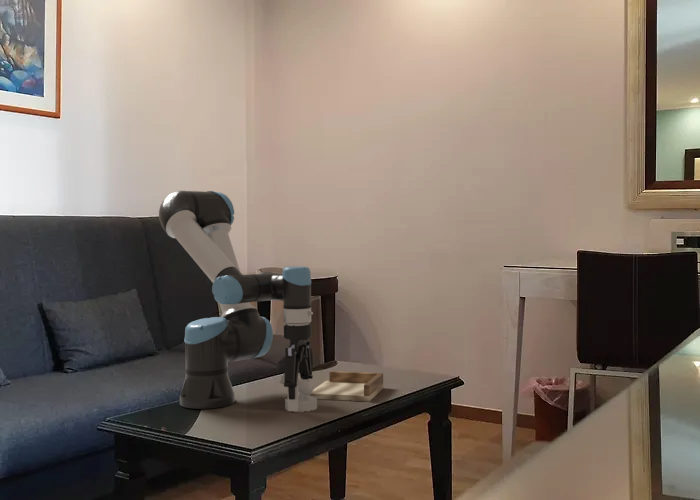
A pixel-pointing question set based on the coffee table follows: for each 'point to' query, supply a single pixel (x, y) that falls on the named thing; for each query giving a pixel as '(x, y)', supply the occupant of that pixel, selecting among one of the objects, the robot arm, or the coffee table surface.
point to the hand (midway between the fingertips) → (299, 406)
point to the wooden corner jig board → (350, 386)
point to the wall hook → (303, 396)
